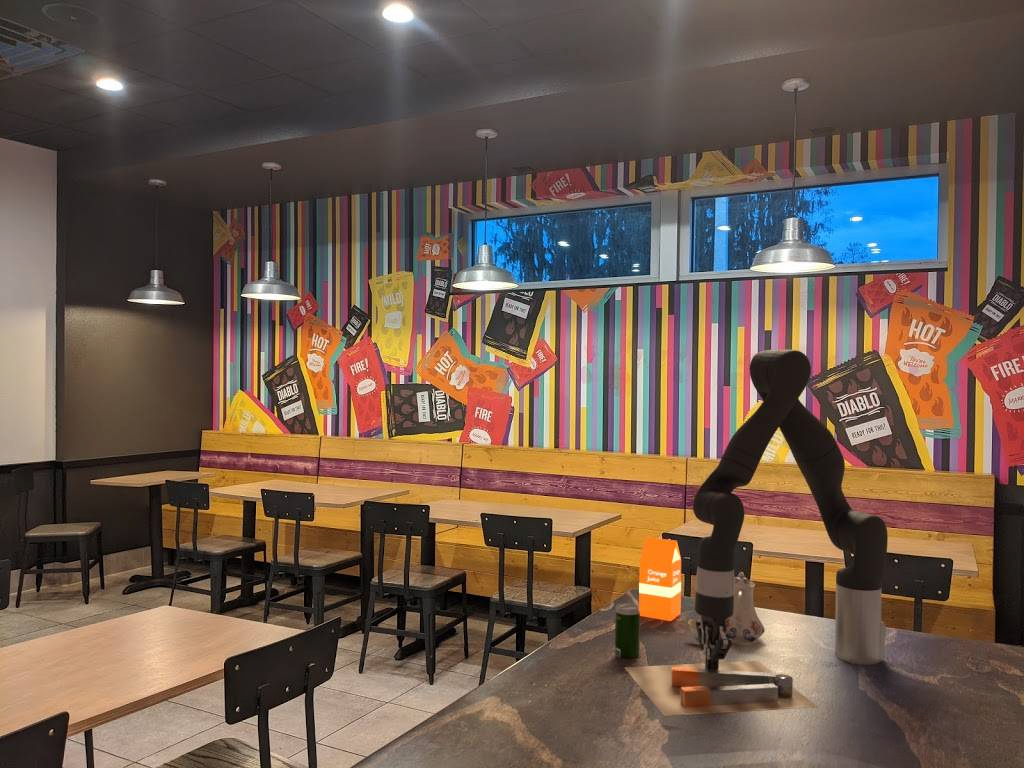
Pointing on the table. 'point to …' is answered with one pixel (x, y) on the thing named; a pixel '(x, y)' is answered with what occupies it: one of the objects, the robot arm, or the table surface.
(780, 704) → the cutting board
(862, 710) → the table surface
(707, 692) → the tong fixed arm
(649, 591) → the orange juice
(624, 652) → the beer can
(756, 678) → the tong free arm
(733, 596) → the robot arm
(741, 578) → the chinaware
